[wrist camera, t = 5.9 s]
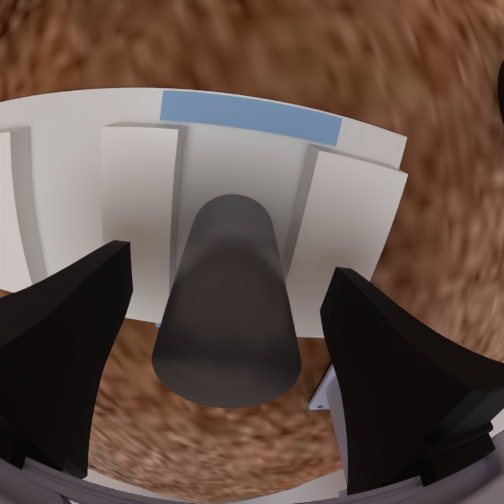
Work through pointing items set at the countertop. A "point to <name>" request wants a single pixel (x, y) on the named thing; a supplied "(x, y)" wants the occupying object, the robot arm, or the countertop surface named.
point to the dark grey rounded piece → (228, 312)
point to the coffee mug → (501, 90)
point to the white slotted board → (190, 186)
